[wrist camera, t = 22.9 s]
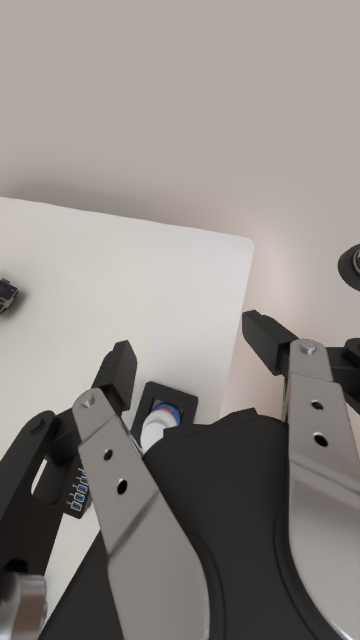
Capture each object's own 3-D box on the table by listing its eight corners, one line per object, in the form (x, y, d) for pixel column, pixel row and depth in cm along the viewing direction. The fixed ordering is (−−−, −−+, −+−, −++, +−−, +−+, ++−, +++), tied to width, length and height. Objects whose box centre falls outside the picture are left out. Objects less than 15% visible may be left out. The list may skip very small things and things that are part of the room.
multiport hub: (66, 498, 28) (56, 510, 26) (97, 410, 32) (90, 413, 29) (89, 507, 27) (80, 520, 25) (118, 416, 31) (112, 421, 29)
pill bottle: (178, 398, 31) (172, 413, 22) (182, 429, 30) (179, 460, 20) (150, 403, 31) (133, 420, 22) (154, 434, 30) (137, 467, 20)
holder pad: (197, 396, 31) (198, 400, 28) (183, 454, 29) (182, 464, 26) (150, 381, 32) (146, 382, 30) (132, 435, 30) (126, 442, 27)
